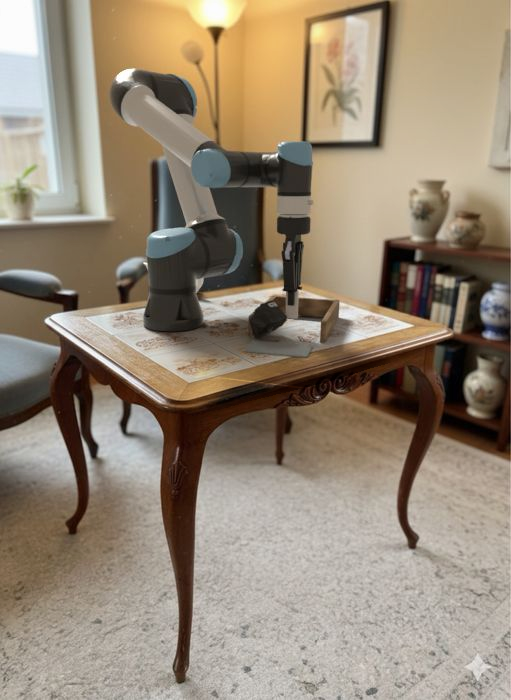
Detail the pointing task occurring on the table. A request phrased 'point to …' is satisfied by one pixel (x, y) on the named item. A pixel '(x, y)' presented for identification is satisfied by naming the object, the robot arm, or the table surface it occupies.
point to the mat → (279, 348)
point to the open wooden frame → (311, 313)
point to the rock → (266, 319)
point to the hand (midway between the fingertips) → (291, 317)
